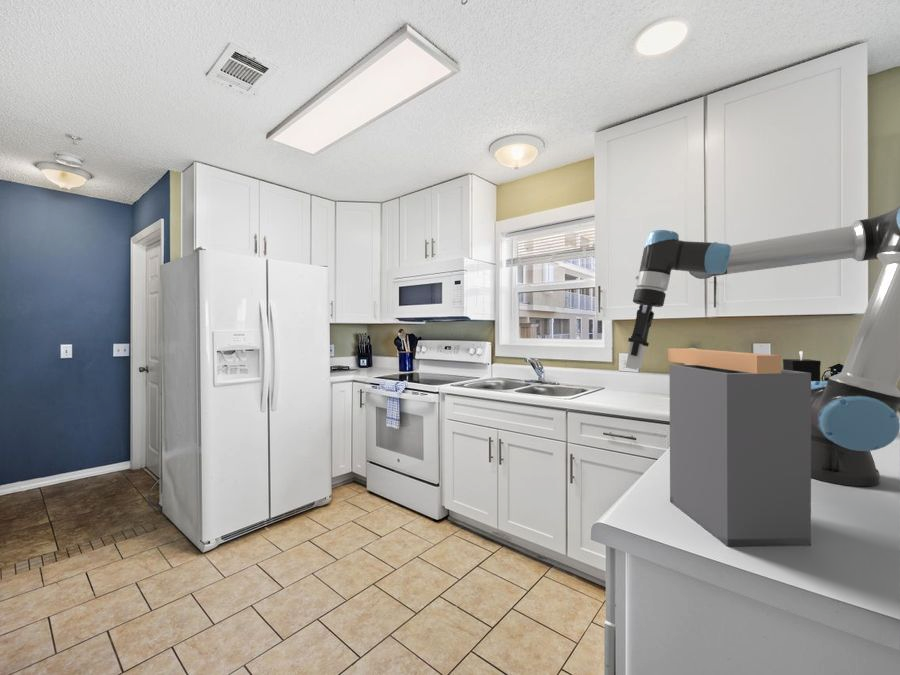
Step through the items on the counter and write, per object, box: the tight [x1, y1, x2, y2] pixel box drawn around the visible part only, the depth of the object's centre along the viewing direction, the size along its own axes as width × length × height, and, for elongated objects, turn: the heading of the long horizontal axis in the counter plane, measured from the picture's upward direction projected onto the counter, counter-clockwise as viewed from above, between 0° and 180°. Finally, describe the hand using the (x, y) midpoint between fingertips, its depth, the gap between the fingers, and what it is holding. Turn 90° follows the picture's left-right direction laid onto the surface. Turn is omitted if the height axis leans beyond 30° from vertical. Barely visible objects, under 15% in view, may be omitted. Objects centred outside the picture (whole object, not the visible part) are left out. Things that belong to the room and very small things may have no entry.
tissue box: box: [782, 350, 822, 381], centre depth 146 cm, size 8×8×28 cm
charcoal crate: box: [668, 364, 812, 547], centre depth 78 cm, size 14×18×29 cm
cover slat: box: [667, 347, 782, 374], centre depth 82 cm, size 28×4×3 cm, turn 0°
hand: (633, 368), depth 110 cm, fingers open, 13 cm apart
